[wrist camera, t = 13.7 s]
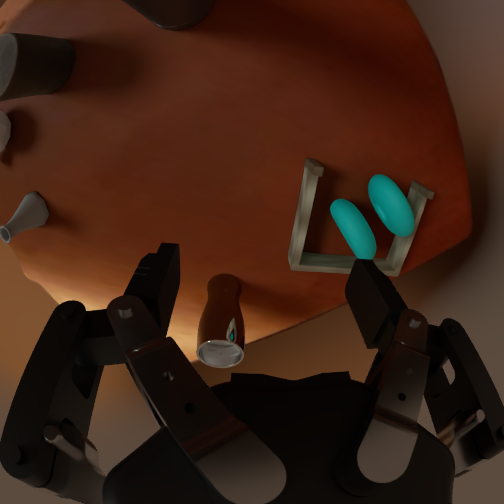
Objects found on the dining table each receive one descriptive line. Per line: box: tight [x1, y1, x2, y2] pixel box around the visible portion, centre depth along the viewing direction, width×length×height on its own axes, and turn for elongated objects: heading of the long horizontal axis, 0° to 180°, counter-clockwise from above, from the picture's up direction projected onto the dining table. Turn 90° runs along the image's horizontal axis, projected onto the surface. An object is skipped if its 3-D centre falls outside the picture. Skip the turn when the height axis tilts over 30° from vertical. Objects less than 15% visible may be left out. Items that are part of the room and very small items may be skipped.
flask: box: [0, 191, 49, 243], centre depth 34 cm, size 7×7×10 cm
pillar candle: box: [0, 33, 75, 101], centre depth 19 cm, size 10×10×15 cm
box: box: [288, 158, 434, 276], centre depth 40 cm, size 16×20×5 cm
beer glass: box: [196, 274, 245, 368], centre depth 42 cm, size 7×7×15 cm
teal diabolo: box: [330, 175, 415, 259], centre depth 36 cm, size 10×10×10 cm
